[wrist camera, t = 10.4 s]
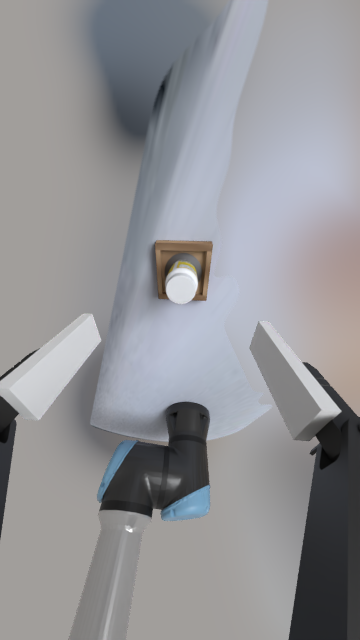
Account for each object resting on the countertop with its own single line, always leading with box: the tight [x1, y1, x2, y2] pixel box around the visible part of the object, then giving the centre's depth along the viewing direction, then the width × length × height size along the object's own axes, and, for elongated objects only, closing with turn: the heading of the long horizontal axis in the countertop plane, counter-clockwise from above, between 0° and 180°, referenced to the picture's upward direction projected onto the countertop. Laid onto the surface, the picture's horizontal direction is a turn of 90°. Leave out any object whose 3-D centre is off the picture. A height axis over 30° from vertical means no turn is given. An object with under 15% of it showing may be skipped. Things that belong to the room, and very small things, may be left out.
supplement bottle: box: [165, 260, 198, 304], centre depth 23 cm, size 5×5×8 cm
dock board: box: [155, 240, 213, 301], centre depth 27 cm, size 10×9×2 cm
